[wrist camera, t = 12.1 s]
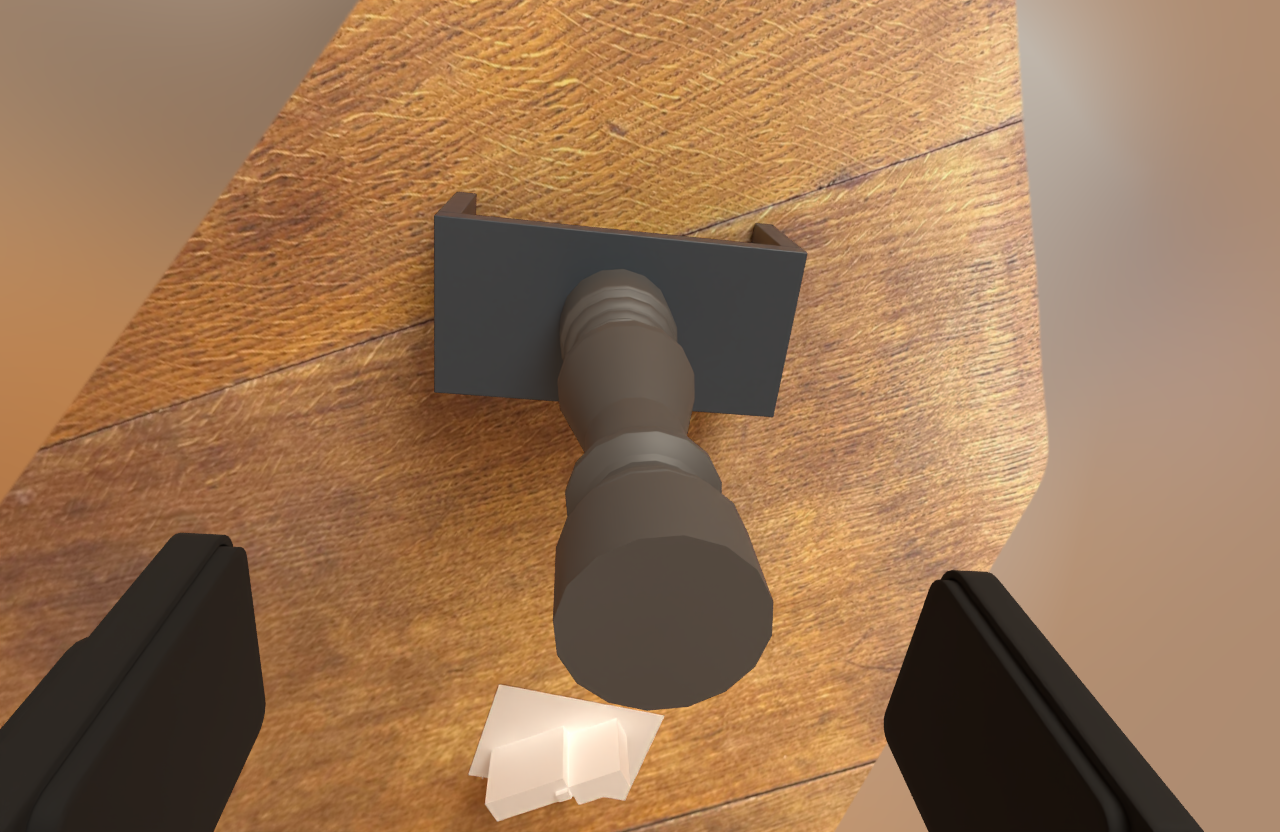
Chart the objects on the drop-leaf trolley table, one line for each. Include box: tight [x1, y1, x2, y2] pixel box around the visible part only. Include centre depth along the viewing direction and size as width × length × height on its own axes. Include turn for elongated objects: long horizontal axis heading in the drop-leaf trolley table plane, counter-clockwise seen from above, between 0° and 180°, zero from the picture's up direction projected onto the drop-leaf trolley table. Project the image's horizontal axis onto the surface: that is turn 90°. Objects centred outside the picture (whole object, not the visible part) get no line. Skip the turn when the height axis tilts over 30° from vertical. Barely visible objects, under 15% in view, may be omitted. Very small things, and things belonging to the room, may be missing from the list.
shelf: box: [434, 192, 807, 417], centre depth 45 cm, size 20×10×8 cm, turn 83°
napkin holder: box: [468, 684, 664, 821], centre depth 64 cm, size 15×11×6 cm
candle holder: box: [553, 269, 773, 711], centre depth 30 cm, size 6×6×25 cm
